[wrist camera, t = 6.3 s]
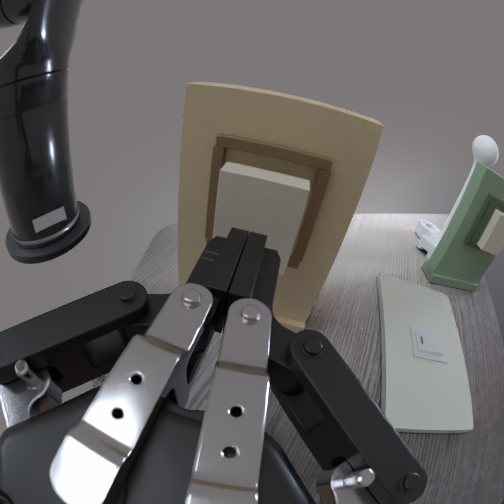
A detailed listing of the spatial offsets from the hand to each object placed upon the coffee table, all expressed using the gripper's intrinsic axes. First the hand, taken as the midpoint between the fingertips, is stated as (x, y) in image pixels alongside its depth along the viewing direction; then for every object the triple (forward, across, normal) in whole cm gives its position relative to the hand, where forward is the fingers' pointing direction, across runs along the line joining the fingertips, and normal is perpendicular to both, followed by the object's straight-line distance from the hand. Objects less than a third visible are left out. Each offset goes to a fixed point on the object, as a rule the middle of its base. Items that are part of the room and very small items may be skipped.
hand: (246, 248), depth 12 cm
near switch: (+2, 0, +2) cm, 3 cm away
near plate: (+4, 0, +10) cm, 11 cm away
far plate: (+17, -26, +10) cm, 33 cm away
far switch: (+14, -27, +2) cm, 30 cm away
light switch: (+4, -17, +10) cm, 21 cm away
